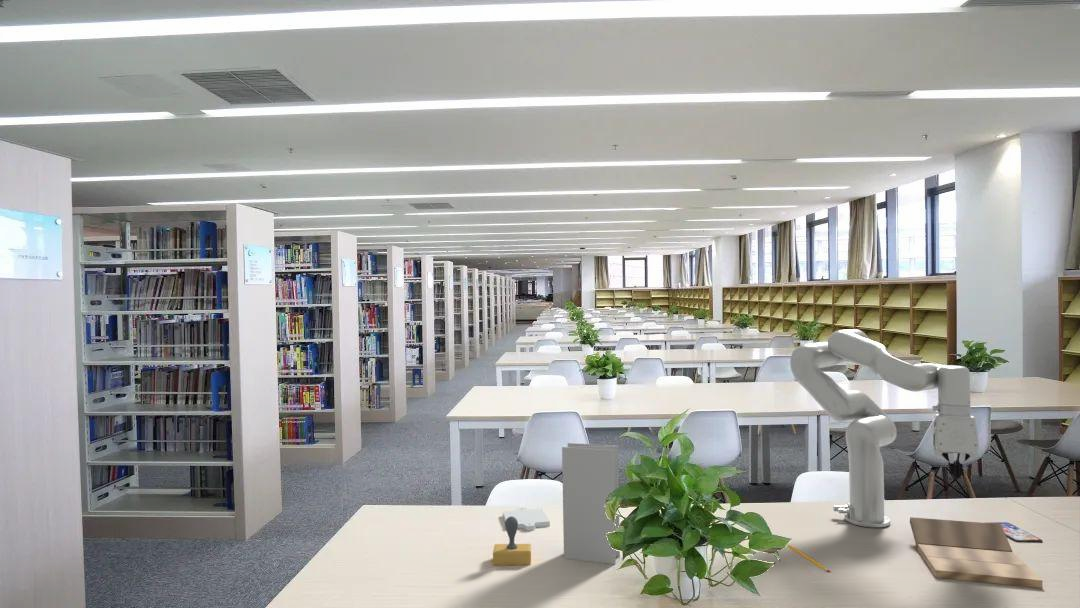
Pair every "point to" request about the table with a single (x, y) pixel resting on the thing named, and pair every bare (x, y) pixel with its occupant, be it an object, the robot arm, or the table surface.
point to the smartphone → (1017, 533)
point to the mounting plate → (528, 518)
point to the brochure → (588, 501)
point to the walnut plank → (959, 534)
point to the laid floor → (978, 565)
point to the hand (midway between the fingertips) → (955, 476)
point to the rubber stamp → (512, 548)
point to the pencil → (809, 558)
